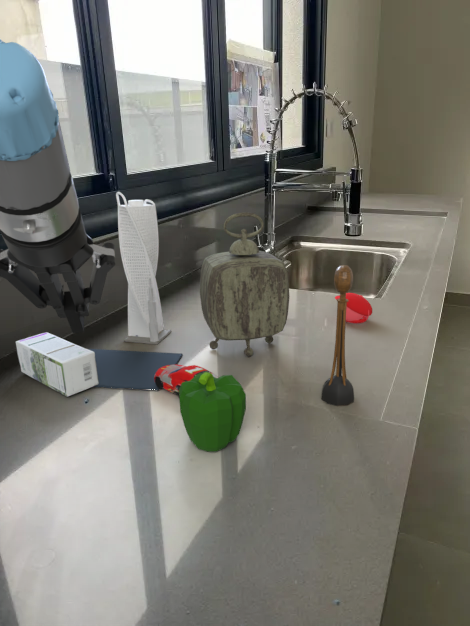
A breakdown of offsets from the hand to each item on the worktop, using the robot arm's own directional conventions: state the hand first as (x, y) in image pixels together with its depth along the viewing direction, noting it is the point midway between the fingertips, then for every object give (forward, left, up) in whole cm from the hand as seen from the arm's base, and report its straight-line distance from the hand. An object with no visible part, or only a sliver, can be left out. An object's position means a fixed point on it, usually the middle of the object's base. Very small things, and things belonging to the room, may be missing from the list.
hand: (78, 323), depth 67 cm
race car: (+13, +7, -13) cm, 20 cm away
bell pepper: (+19, -5, -13) cm, 24 cm away
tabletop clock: (+19, +24, -13) cm, 33 cm away
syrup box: (-3, +4, -10) cm, 11 cm away
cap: (+39, +44, -13) cm, 60 cm away
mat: (-1, +14, -13) cm, 19 cm away
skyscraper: (-2, +30, -13) cm, 32 cm away
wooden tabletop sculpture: (+35, +9, -13) cm, 39 cm away
